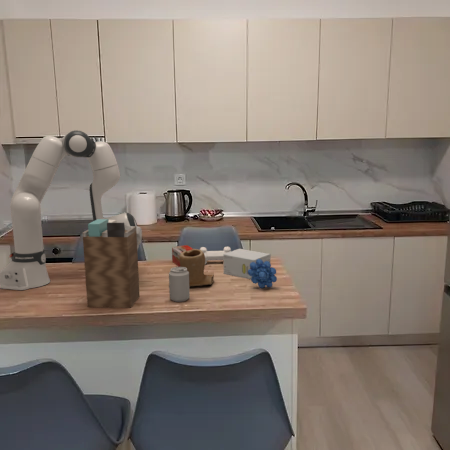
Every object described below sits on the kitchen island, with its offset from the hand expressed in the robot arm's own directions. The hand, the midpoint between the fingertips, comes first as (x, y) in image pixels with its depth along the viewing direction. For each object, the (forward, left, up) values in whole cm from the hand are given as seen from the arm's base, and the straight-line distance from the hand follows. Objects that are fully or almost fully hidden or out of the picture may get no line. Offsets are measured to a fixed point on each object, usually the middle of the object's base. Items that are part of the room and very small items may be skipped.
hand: (111, 226), depth 184 cm
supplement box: (+52, +26, -27) cm, 64 cm away
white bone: (+36, +42, -27) cm, 62 cm away
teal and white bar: (0, -9, 0) cm, 9 cm away
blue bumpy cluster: (+59, +5, -26) cm, 65 cm away
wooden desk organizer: (+4, -13, -26) cm, 30 cm away
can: (+28, -9, -26) cm, 40 cm away
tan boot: (+32, +8, -26) cm, 42 cm away
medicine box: (+22, +39, -27) cm, 52 cm away
